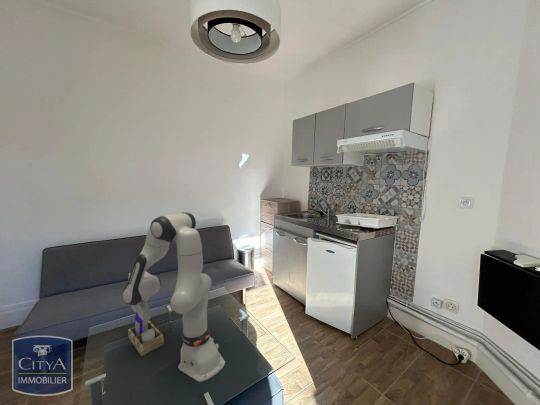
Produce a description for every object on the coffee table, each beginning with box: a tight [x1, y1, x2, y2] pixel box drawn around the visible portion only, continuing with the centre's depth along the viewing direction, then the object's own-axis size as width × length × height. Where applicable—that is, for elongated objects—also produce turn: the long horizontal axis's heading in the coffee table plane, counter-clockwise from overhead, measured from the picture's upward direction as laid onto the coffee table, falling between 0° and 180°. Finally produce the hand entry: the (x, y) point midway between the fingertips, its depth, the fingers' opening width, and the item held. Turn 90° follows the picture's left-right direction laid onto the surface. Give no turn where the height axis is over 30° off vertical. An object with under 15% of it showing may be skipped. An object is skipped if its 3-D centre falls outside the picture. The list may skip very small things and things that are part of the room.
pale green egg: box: [142, 329, 155, 344], centre depth 121 cm, size 6×6×7 cm
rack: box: [127, 320, 165, 357], centre depth 124 cm, size 20×11×6 cm, turn 46°
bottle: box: [134, 312, 149, 336], centre depth 127 cm, size 7×6×17 cm
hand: (141, 322), depth 127 cm, fingers closed on bottle, 7 cm apart
